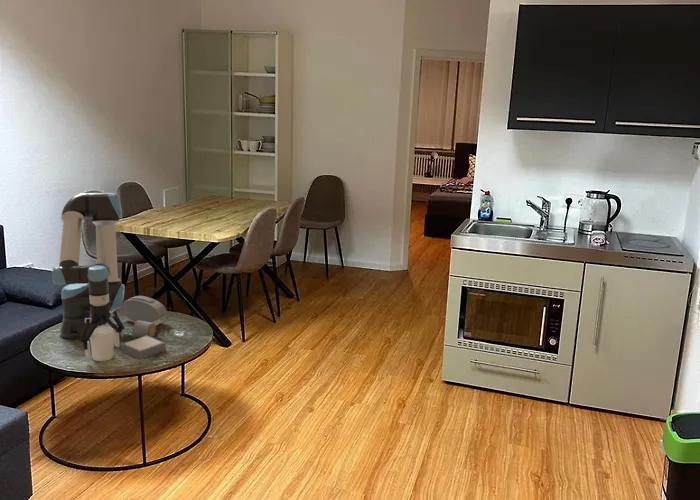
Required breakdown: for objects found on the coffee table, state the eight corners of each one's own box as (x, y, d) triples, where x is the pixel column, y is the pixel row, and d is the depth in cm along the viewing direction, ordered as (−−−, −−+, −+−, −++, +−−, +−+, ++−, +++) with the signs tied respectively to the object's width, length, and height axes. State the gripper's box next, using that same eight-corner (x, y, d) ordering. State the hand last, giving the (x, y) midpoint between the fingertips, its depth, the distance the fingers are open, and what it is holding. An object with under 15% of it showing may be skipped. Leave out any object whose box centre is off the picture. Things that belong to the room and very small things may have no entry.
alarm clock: (167, 323, 301) (166, 298, 298) (159, 327, 295) (158, 302, 292) (128, 316, 309) (127, 291, 306) (120, 320, 303) (118, 295, 300)
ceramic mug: (149, 340, 280) (149, 324, 278) (132, 339, 281) (131, 323, 279) (160, 332, 290) (159, 317, 288) (143, 331, 291) (143, 315, 289)
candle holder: (97, 351, 267) (96, 325, 264) (119, 353, 266) (118, 327, 263) (86, 361, 257) (84, 334, 254) (108, 363, 256) (107, 335, 253)
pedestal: (121, 351, 268) (121, 343, 267) (147, 342, 278) (146, 335, 277) (140, 359, 260) (139, 351, 260) (165, 350, 271) (165, 342, 270)
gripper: (76, 313, 243) (80, 363, 249) (131, 298, 263) (133, 344, 268) (66, 308, 248) (69, 358, 253) (120, 294, 267) (123, 340, 273)
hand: (102, 351), depth 261 cm, fingers open, 13 cm apart
